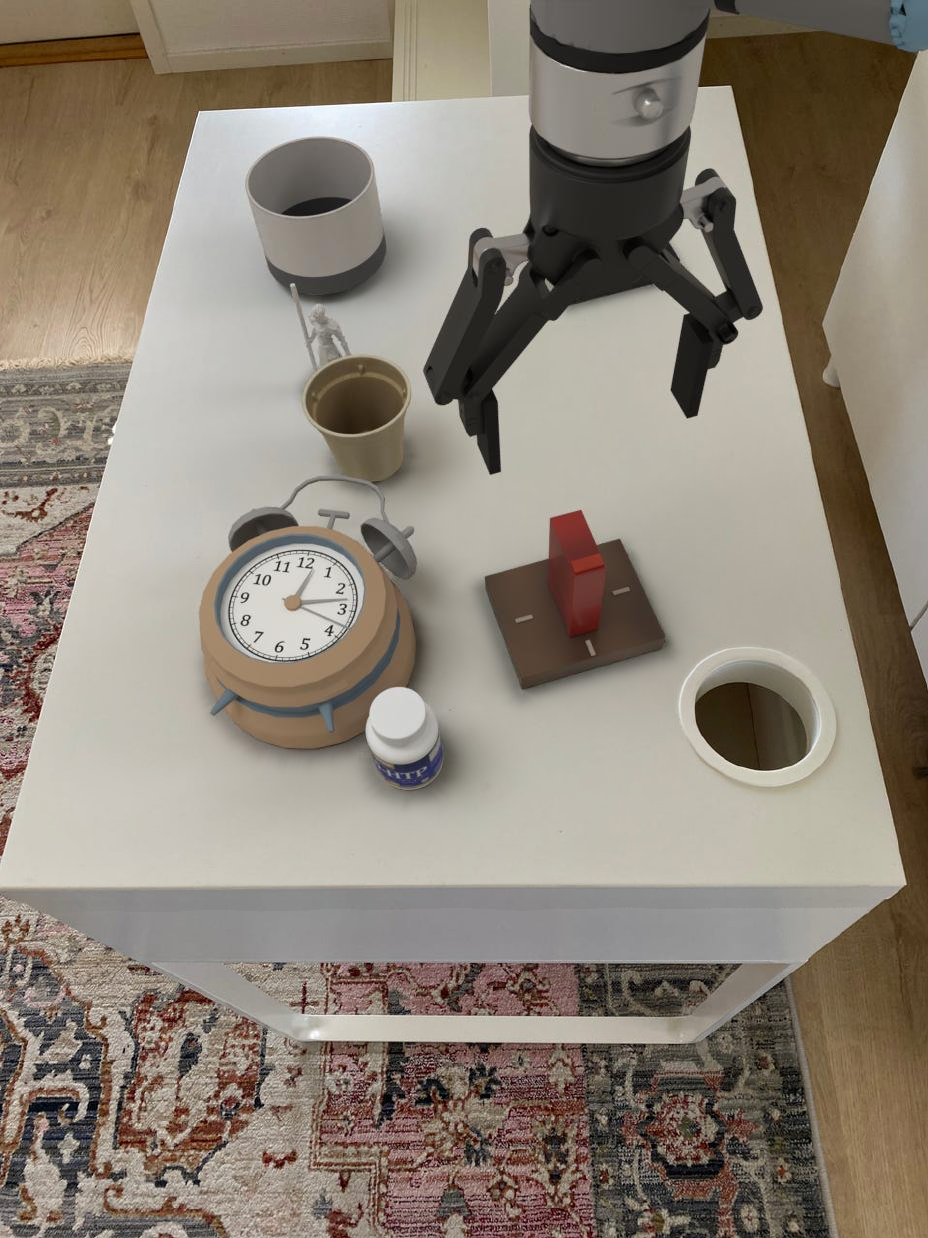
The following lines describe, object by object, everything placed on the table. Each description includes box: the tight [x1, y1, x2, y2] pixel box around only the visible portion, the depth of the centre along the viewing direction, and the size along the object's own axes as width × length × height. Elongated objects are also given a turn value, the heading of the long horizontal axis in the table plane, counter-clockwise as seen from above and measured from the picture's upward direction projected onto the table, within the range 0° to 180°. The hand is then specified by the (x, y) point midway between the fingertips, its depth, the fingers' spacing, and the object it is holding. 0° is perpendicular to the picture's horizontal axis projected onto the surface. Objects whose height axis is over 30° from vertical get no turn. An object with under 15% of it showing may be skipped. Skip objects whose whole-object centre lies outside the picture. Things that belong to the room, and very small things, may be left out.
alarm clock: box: [198, 475, 418, 750], centre depth 75 cm, size 17×9×23 cm
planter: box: [244, 135, 387, 296], centre depth 97 cm, size 13×13×10 cm
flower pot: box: [301, 353, 412, 483], centre depth 84 cm, size 9×9×9 cm
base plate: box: [484, 538, 666, 690], centre depth 77 cm, size 12×10×2 cm
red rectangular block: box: [548, 509, 607, 637], centre depth 72 cm, size 6×2×9 cm, turn 16°
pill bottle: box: [365, 687, 444, 791], centre depth 69 cm, size 5×5×9 cm
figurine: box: [290, 283, 353, 374], centre depth 87 cm, size 5×5×12 cm
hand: (587, 430), depth 62 cm, fingers open, 13 cm apart
